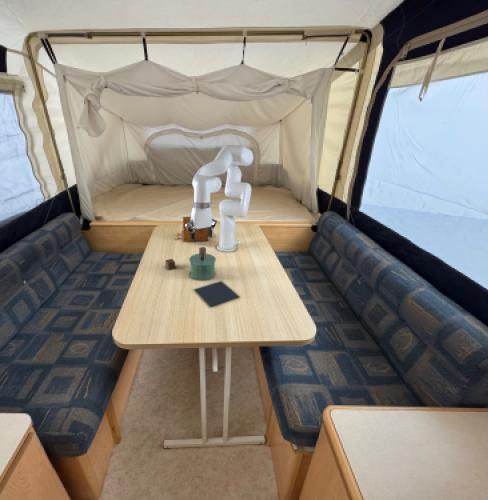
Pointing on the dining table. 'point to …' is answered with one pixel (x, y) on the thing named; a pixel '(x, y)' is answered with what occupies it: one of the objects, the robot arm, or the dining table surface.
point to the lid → (202, 258)
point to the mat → (216, 293)
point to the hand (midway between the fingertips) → (201, 238)
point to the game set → (199, 233)
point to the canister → (202, 271)
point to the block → (170, 264)
